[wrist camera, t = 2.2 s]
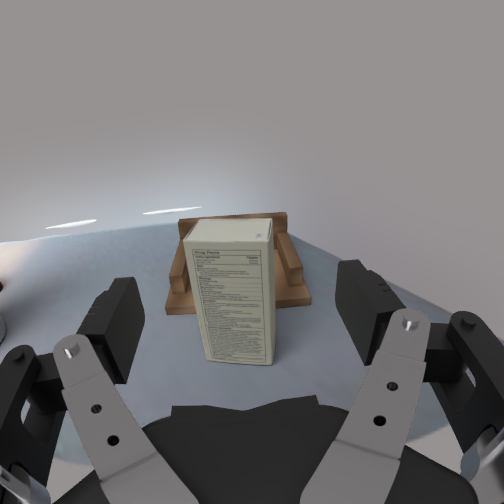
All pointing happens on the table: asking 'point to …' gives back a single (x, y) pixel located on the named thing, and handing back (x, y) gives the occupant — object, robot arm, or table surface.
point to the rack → (285, 265)
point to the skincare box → (234, 288)
